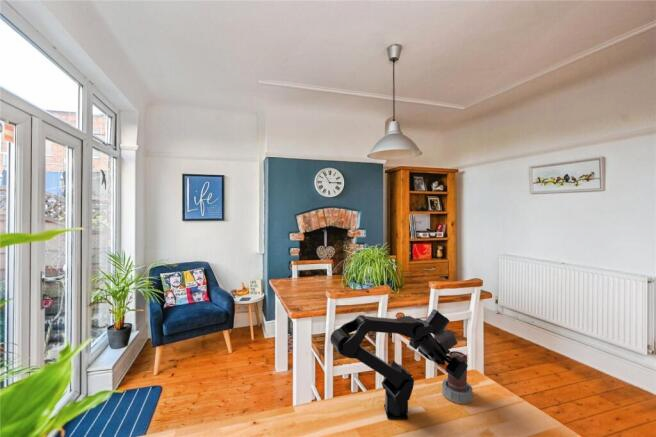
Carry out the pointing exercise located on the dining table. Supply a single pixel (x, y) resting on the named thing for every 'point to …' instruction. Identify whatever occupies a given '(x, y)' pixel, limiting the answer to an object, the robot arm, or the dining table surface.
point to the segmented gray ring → (457, 394)
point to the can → (461, 383)
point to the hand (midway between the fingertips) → (453, 370)
